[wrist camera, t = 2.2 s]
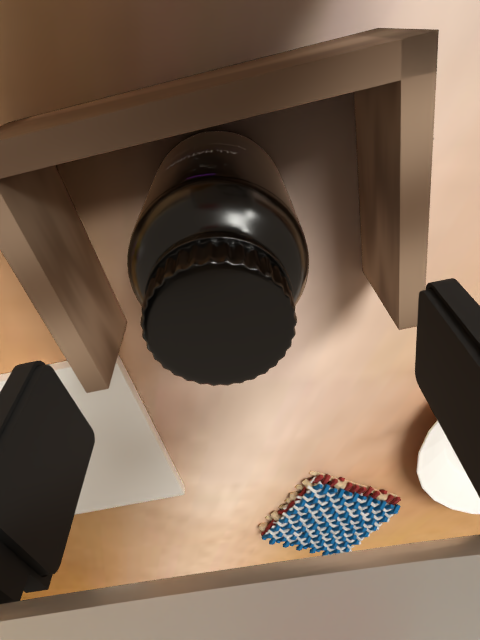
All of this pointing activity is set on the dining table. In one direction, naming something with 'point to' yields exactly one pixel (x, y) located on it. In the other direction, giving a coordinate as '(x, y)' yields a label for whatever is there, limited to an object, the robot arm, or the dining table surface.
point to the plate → (445, 474)
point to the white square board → (119, 445)
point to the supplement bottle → (218, 261)
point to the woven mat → (329, 515)
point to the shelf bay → (207, 111)
